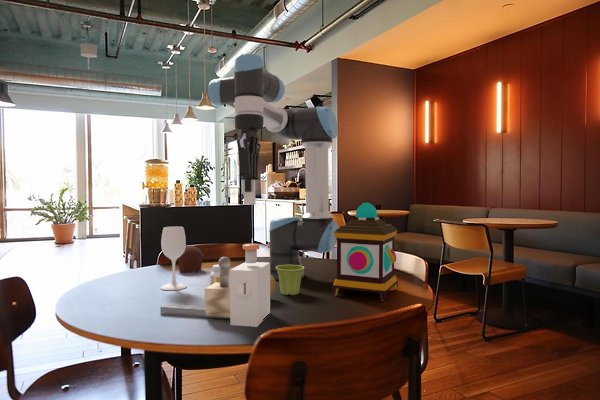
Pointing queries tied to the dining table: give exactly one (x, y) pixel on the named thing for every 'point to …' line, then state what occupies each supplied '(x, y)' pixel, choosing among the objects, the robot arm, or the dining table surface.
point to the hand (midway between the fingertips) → (249, 204)
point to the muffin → (190, 260)
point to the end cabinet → (249, 293)
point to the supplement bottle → (215, 274)
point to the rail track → (186, 311)
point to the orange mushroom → (251, 252)
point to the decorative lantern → (366, 253)
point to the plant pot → (289, 278)
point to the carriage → (219, 292)
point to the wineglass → (173, 251)
